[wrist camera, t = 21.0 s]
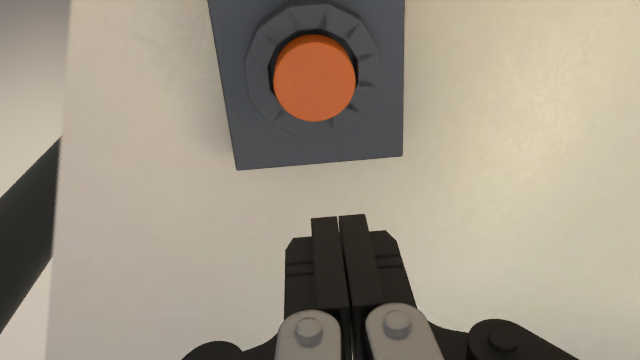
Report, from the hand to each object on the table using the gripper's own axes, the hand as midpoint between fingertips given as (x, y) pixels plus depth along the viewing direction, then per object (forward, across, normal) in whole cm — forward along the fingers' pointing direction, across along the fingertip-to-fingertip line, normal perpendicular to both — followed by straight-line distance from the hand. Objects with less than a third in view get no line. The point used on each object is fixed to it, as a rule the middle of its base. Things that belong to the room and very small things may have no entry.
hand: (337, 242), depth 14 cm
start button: (+14, 0, -1) cm, 14 cm away
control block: (+17, 0, -1) cm, 17 cm away
